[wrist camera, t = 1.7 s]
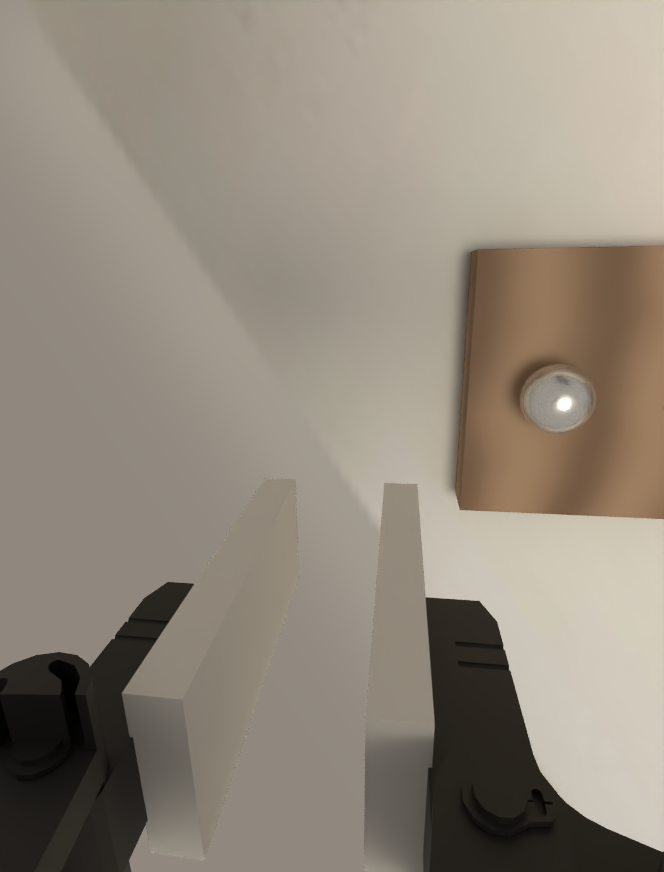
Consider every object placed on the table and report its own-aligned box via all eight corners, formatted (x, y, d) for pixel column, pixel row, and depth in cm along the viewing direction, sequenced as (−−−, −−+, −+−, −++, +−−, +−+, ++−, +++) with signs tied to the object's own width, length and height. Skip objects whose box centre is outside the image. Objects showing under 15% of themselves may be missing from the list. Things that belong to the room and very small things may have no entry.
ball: (516, 358, 26) (533, 370, 23) (586, 359, 25) (613, 371, 22) (510, 422, 27) (525, 442, 24) (577, 423, 26) (601, 444, 23)
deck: (455, 491, 31) (459, 509, 29) (471, 251, 27) (478, 249, 24) (815, 506, 28) (852, 527, 26) (897, 242, 24) (950, 239, 22)
